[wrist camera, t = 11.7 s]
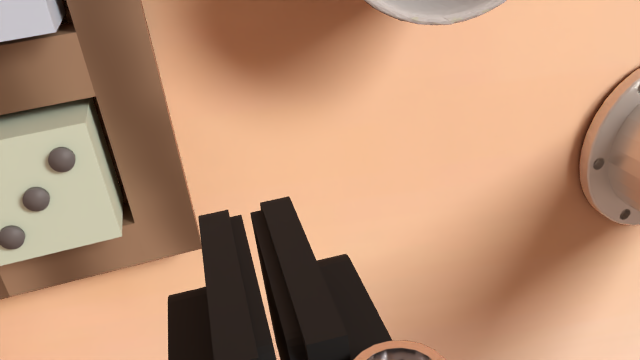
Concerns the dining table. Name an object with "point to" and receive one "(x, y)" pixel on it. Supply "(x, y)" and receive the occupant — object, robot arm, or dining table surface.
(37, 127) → the pale green block
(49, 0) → the white die
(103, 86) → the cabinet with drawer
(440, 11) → the teacup
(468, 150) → the dining table surface
